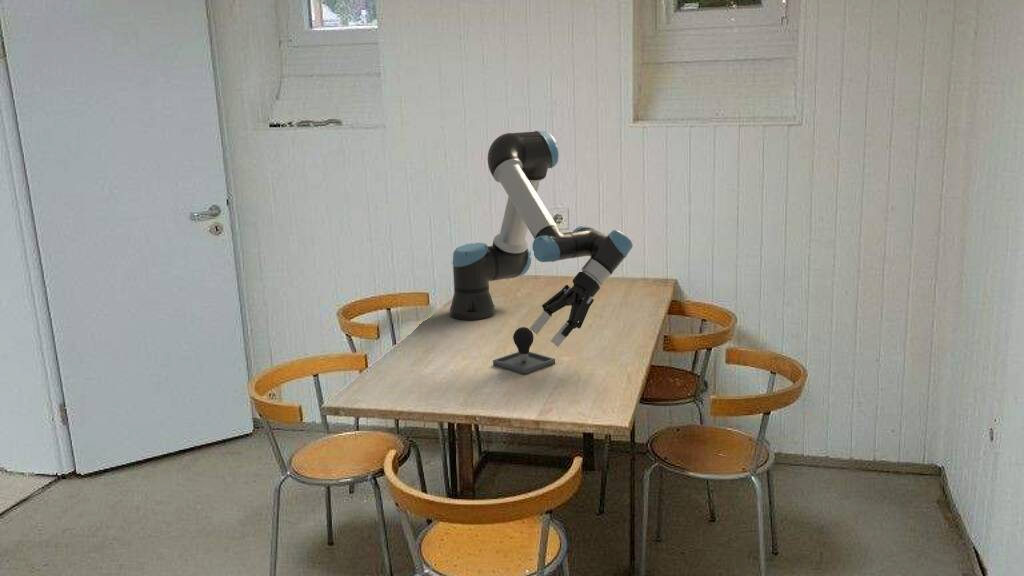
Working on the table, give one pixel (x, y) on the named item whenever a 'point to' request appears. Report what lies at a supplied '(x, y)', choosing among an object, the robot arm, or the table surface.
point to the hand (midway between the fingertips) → (543, 337)
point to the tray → (529, 366)
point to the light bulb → (523, 342)
